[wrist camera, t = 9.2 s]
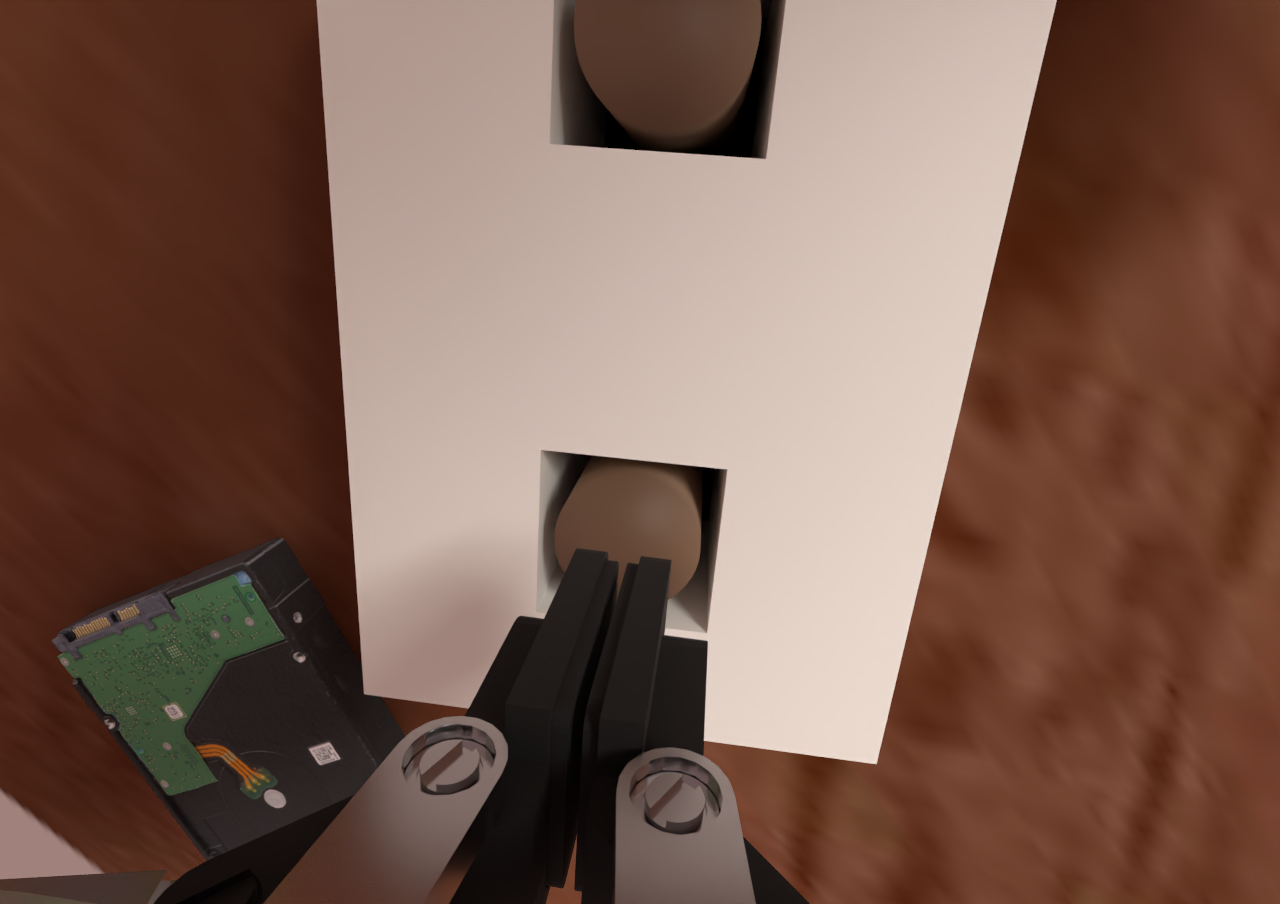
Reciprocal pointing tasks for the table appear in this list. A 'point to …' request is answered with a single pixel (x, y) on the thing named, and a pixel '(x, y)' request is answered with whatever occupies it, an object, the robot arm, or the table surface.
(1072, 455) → the table surface
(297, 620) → the disk drive
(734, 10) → the dowel
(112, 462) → the table surface
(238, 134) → the table surface
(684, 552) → the dowel
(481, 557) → the collar block
